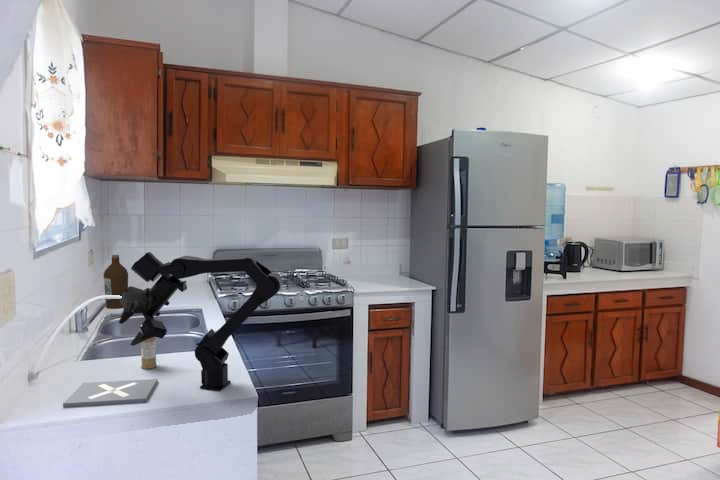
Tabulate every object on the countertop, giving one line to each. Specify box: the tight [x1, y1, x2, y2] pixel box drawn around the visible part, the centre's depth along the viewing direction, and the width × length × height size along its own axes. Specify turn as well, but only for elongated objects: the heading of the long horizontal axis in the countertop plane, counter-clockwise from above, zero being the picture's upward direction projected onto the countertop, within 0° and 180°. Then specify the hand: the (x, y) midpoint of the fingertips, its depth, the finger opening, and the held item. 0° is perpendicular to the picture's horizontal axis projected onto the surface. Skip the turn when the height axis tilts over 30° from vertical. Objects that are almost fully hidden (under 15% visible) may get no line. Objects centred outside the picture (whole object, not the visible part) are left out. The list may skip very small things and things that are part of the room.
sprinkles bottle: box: [140, 337, 157, 370], centre depth 155 cm, size 5×5×14 cm
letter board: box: [62, 378, 159, 408], centre depth 134 cm, size 20×14×1 cm
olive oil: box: [103, 254, 129, 310], centre depth 236 cm, size 11×11×25 cm
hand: (126, 333), depth 139 cm, fingers open, 9 cm apart
